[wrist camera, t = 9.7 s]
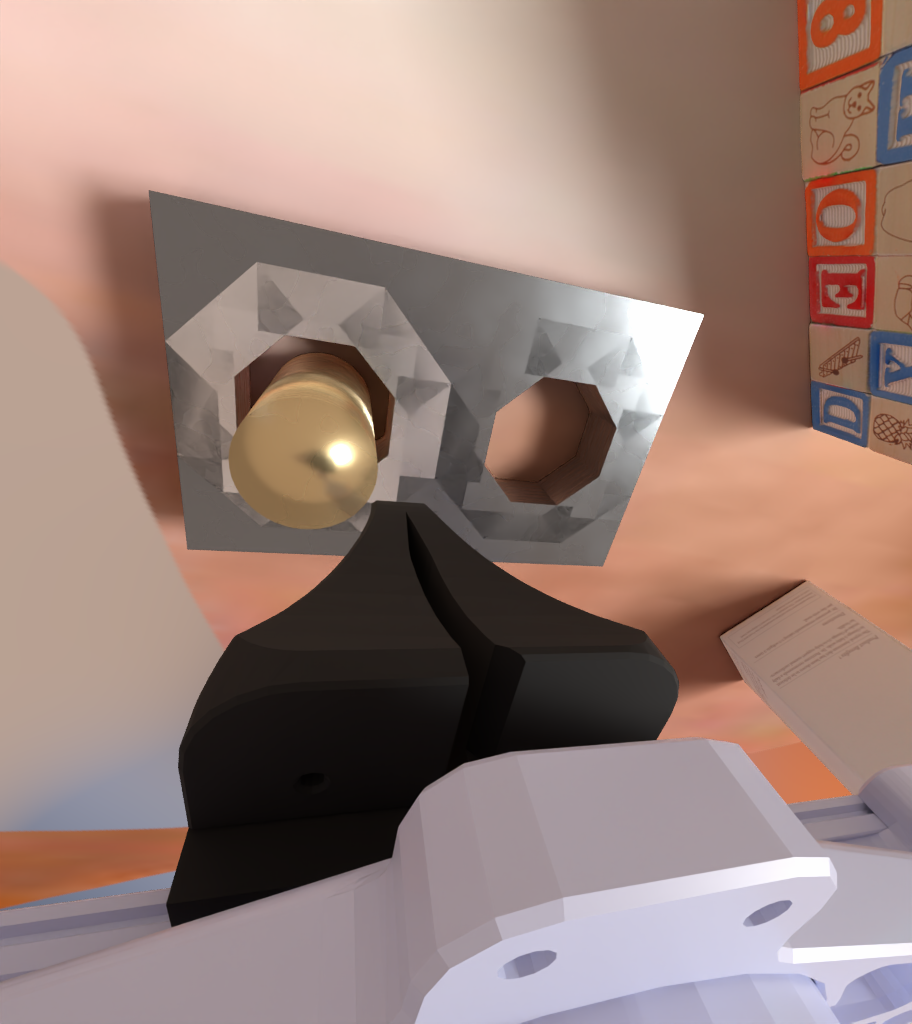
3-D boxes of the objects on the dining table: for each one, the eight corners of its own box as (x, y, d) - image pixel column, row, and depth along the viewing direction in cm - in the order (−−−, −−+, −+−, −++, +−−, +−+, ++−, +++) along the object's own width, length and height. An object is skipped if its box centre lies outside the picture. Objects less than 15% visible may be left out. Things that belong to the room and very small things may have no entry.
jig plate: (581, 540, 25) (602, 566, 23) (205, 518, 20) (187, 549, 18) (665, 309, 19) (703, 314, 17) (178, 201, 14) (148, 190, 12)
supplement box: (742, 682, 35) (914, 867, 24) (715, 634, 31) (905, 827, 21) (827, 631, 34) (1047, 801, 23) (810, 575, 30) (1063, 747, 20)
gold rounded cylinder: (364, 453, 20) (369, 534, 14) (269, 441, 19) (229, 523, 13) (376, 362, 18) (386, 410, 12) (272, 343, 17) (227, 385, 11)
